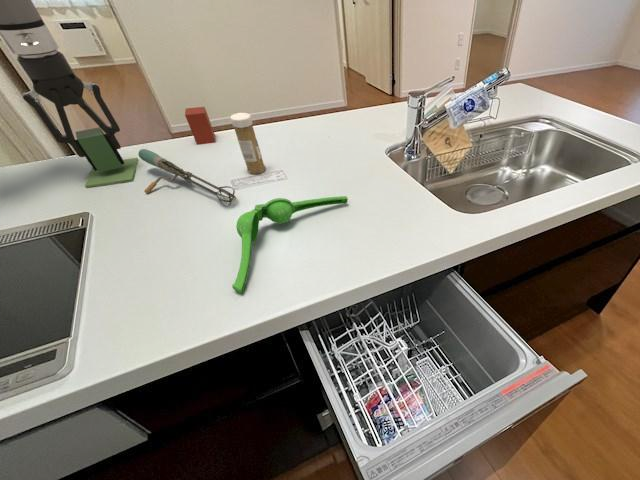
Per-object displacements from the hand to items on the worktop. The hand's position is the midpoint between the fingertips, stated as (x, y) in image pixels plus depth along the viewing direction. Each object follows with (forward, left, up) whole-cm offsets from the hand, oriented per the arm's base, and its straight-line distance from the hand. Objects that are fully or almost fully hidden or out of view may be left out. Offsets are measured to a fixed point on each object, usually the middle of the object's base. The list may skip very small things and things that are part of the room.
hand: (109, 165), depth 86 cm
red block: (-14, +22, -2) cm, 26 cm away
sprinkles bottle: (+10, +34, -2) cm, 35 cm away
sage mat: (0, 0, -2) cm, 2 cm away
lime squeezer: (+40, +36, -2) cm, 54 cm away
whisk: (+15, +16, -2) cm, 22 cm away
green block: (0, 0, 0) cm, 0 cm away
